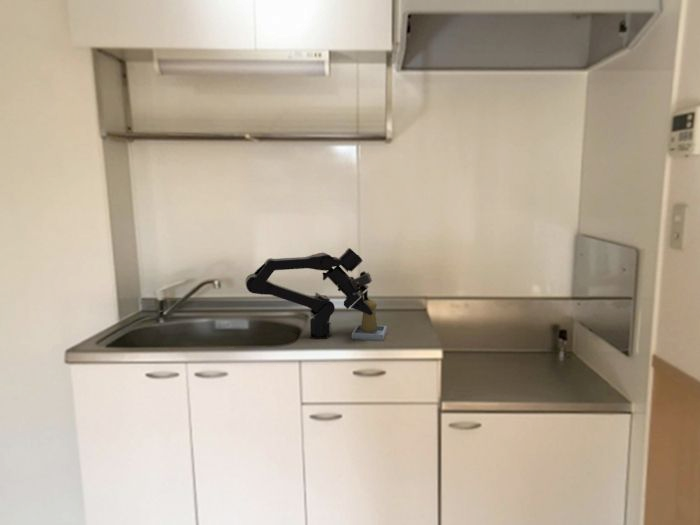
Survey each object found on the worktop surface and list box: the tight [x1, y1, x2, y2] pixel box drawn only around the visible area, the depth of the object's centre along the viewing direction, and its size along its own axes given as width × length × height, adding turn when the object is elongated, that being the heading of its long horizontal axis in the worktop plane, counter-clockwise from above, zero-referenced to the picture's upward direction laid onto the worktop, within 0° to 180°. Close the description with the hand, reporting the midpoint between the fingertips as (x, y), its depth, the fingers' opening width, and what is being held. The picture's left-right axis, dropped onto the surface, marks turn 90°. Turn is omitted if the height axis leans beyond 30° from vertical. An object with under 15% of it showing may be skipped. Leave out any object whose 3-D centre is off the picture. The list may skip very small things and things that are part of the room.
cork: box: [360, 299, 378, 333], centre depth 166 cm, size 6×6×11 cm
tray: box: [351, 324, 388, 342], centre depth 166 cm, size 11×11×2 cm
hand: (373, 312), depth 165 cm, fingers closed on cork, 5 cm apart
